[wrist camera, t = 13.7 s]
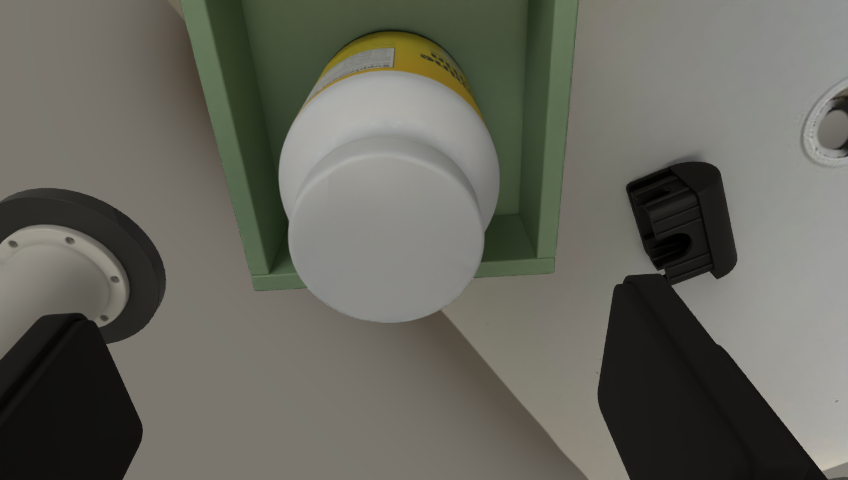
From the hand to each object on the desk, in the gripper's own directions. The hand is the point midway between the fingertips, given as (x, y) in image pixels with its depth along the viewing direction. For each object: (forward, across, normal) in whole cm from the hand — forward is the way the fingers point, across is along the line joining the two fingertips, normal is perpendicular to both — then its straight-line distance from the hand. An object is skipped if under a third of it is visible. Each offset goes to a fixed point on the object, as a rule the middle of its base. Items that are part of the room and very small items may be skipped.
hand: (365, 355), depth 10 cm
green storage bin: (+16, -1, 0) cm, 16 cm away
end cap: (+40, -27, +18) cm, 51 cm away
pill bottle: (+15, 0, 0) cm, 15 cm away
